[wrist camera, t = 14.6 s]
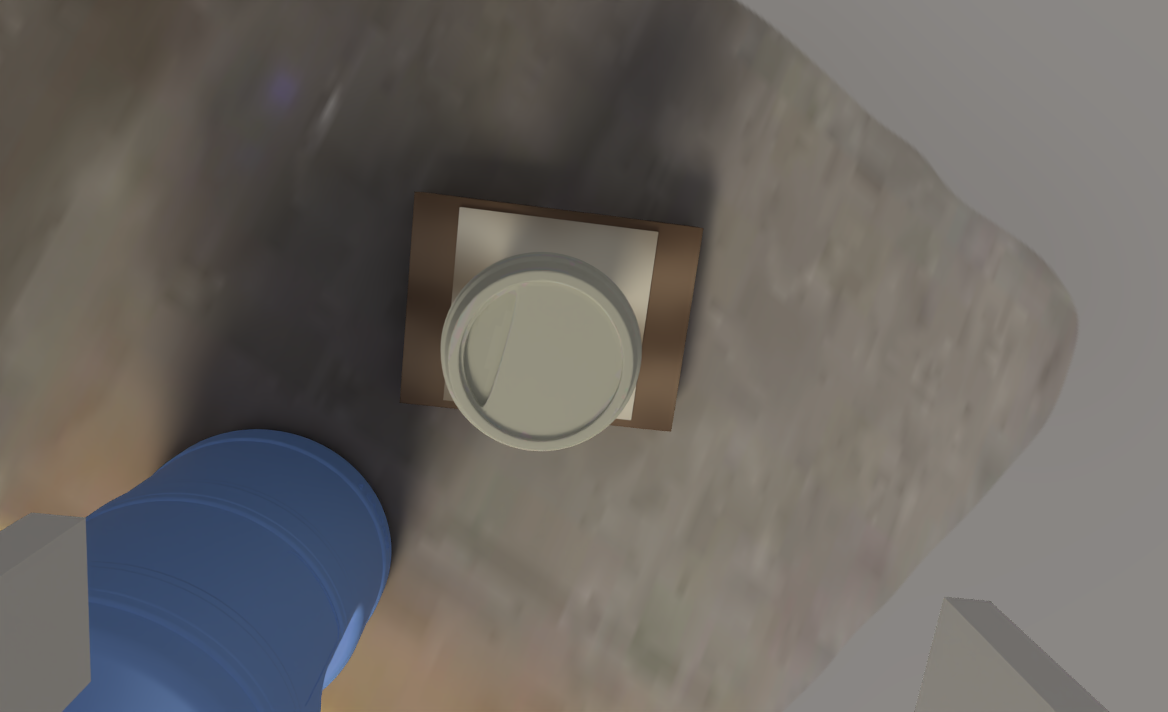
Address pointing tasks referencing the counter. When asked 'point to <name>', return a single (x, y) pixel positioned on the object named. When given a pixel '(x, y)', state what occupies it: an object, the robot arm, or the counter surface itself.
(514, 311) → the coffee cup
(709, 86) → the counter surface
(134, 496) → the water jug
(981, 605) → the robot arm
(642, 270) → the walnut plinth
